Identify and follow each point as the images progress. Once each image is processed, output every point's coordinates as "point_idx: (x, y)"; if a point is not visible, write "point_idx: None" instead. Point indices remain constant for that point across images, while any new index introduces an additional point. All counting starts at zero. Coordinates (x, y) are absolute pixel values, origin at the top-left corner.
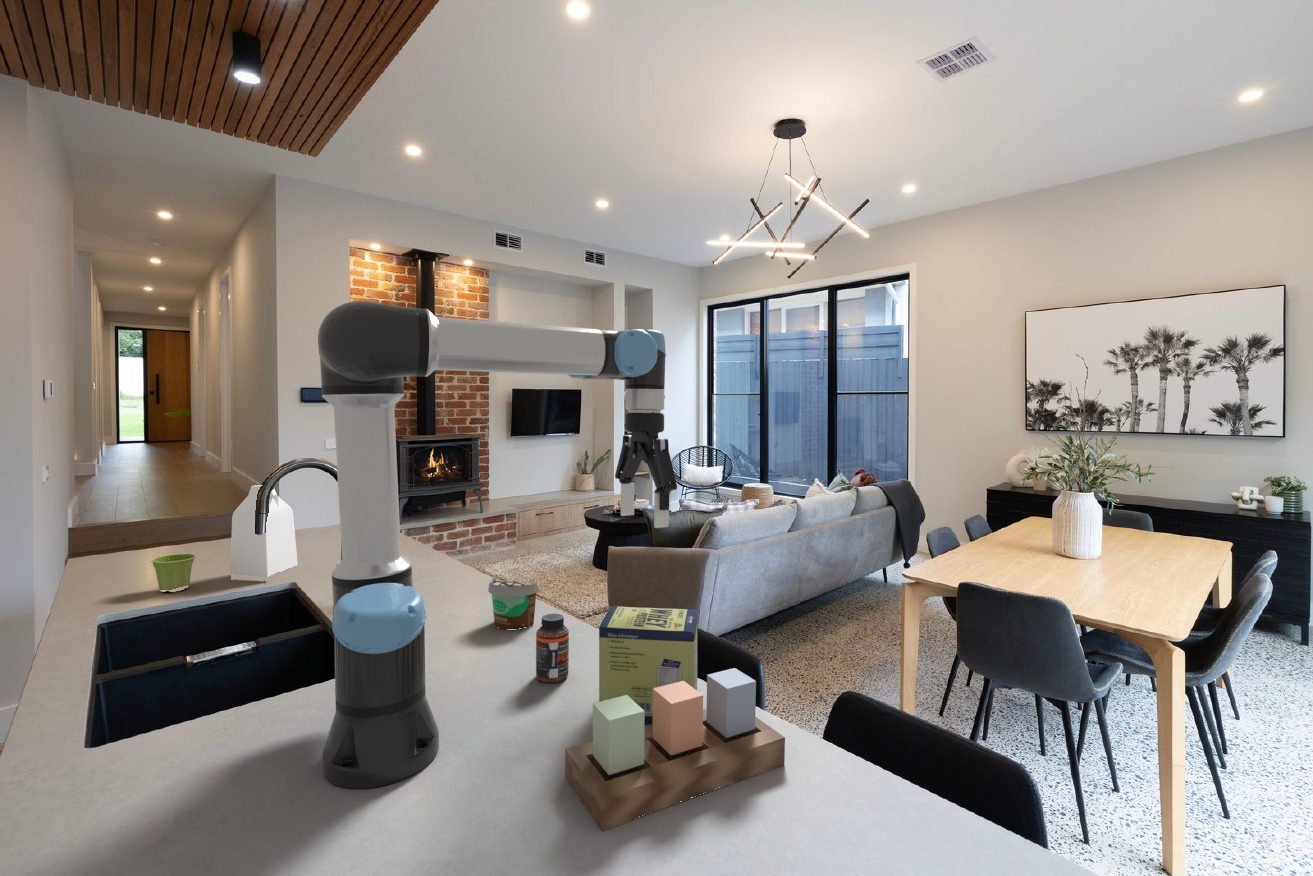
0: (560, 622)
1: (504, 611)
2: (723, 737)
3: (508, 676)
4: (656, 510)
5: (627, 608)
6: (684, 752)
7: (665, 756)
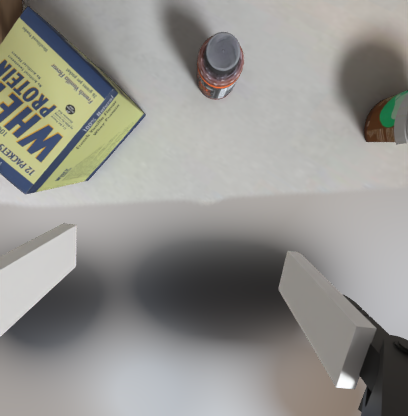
0: (206, 58)
1: (399, 94)
2: None
3: (249, 36)
4: (23, 245)
5: (86, 106)
6: None
7: None
